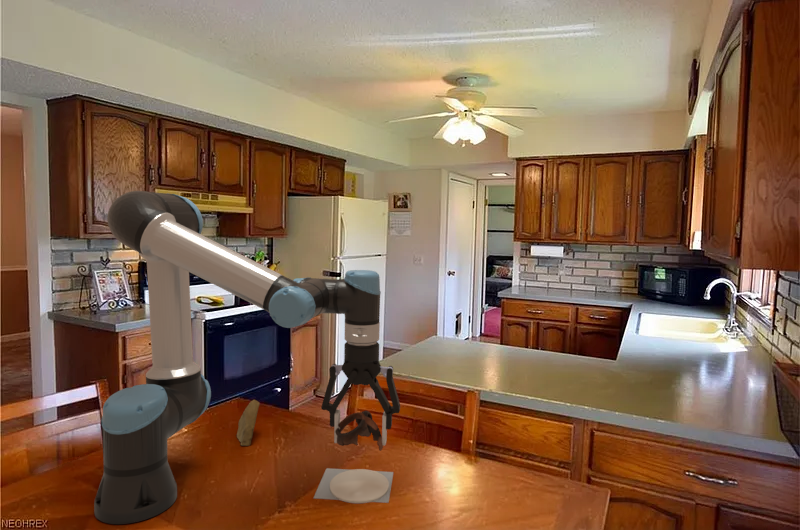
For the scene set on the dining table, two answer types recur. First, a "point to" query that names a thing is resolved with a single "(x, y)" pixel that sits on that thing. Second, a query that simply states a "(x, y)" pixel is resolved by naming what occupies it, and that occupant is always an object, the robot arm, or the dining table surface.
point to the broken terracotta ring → (359, 429)
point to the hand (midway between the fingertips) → (360, 441)
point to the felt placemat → (329, 474)
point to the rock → (247, 423)
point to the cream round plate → (359, 486)
